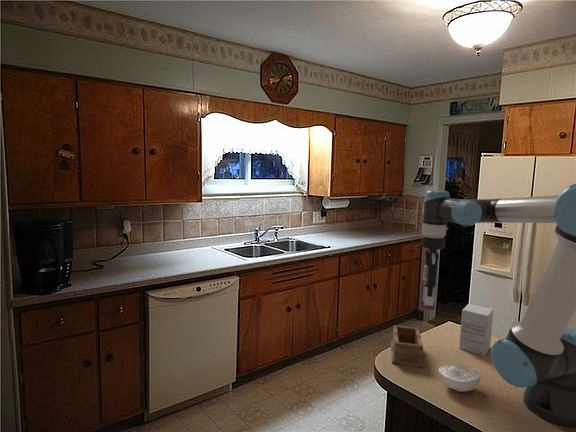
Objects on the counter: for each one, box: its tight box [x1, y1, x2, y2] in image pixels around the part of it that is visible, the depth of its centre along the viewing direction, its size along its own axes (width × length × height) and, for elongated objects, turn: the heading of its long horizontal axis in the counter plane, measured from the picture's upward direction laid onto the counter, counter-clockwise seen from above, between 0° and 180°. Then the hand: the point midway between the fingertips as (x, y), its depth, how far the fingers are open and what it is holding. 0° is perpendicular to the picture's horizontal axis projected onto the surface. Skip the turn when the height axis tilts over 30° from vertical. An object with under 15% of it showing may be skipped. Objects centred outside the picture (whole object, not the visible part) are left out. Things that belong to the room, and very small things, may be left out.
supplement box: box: [458, 303, 494, 357], centre depth 139 cm, size 9×9×15 cm
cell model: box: [438, 363, 482, 393], centre depth 113 cm, size 10×12×7 cm
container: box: [420, 264, 439, 312], centre depth 131 cm, size 5×5×15 cm
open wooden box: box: [390, 324, 425, 369], centre depth 133 cm, size 16×10×7 cm, turn 166°
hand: (427, 302), depth 131 cm, fingers closed on container, 5 cm apart
